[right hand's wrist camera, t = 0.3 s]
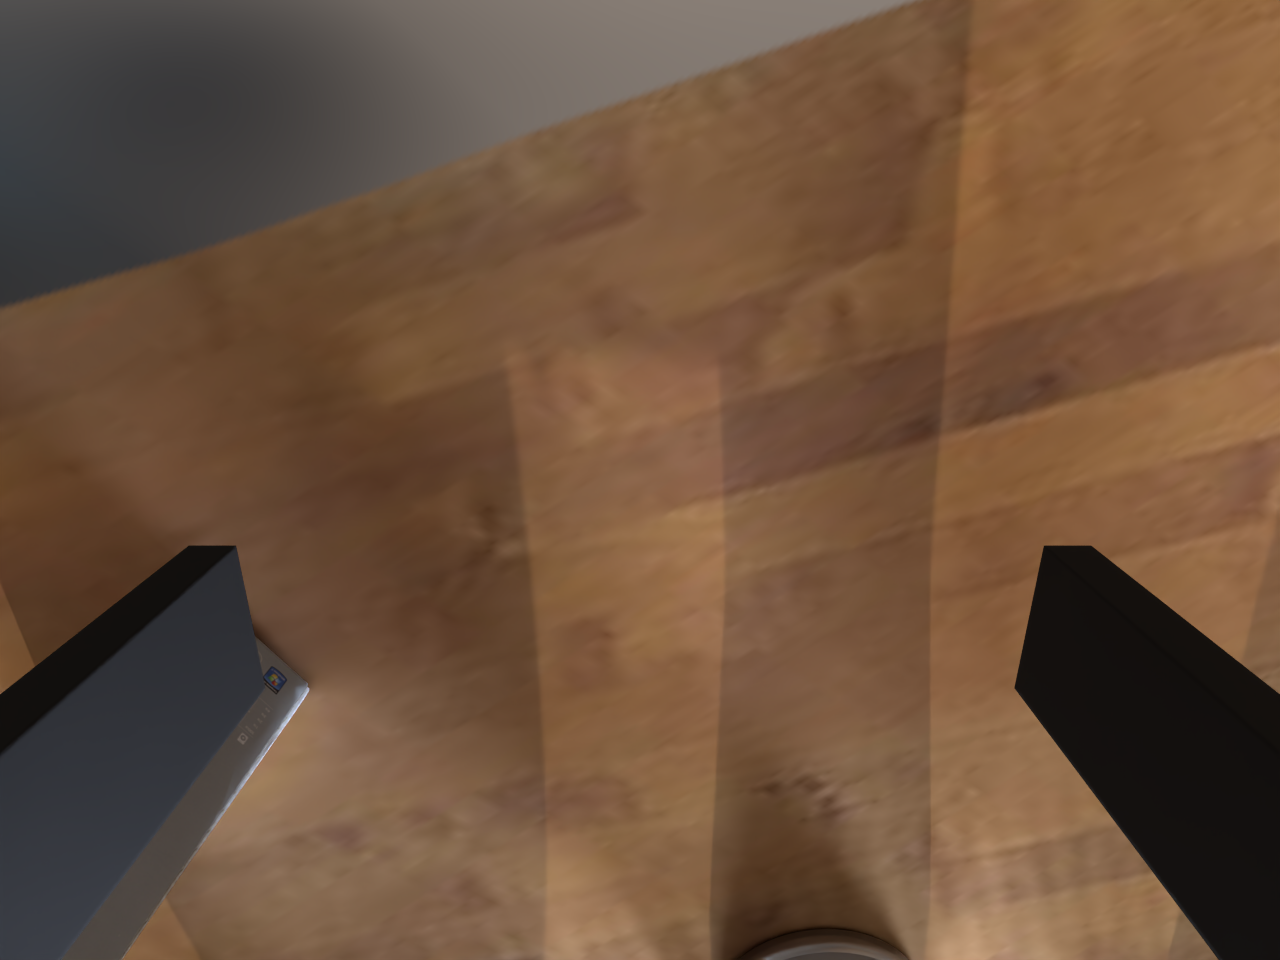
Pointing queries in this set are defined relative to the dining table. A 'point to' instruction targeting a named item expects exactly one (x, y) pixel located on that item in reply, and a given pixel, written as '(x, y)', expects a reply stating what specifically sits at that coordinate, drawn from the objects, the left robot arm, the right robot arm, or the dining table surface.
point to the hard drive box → (192, 817)
